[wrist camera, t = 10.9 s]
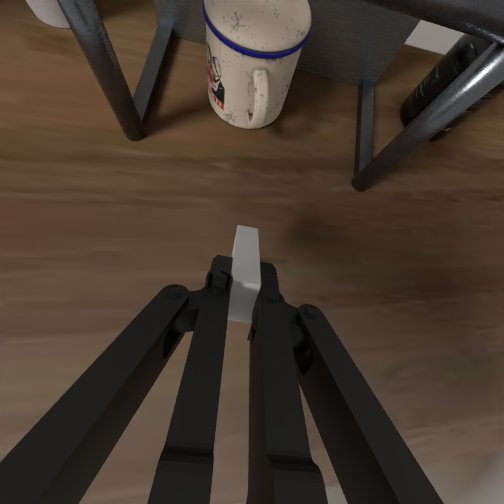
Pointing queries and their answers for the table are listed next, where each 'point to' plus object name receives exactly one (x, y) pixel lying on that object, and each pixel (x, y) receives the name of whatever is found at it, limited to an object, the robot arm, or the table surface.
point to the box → (317, 61)
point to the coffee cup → (49, 12)
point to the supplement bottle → (443, 76)
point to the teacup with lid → (253, 56)
